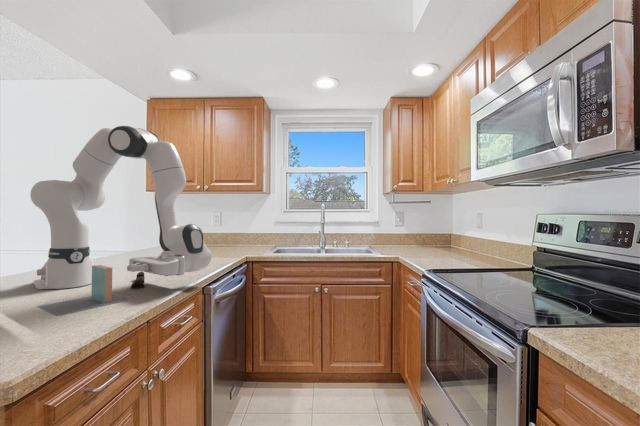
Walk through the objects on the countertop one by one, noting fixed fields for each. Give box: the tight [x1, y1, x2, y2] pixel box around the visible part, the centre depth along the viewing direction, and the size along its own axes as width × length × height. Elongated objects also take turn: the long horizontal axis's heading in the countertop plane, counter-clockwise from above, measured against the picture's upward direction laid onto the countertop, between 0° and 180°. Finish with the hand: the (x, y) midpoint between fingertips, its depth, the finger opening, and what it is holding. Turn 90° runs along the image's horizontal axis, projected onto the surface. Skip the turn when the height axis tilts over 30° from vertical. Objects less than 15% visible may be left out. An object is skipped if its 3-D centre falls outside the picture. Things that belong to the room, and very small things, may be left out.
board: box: [37, 293, 130, 317], centre depth 92 cm, size 14×18×2 cm
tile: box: [91, 264, 113, 303], centre depth 95 cm, size 8×2×10 cm, turn 58°
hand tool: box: [130, 271, 146, 290], centre depth 118 cm, size 19×4×5 cm, turn 23°
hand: (129, 268), depth 101 cm, fingers closed
